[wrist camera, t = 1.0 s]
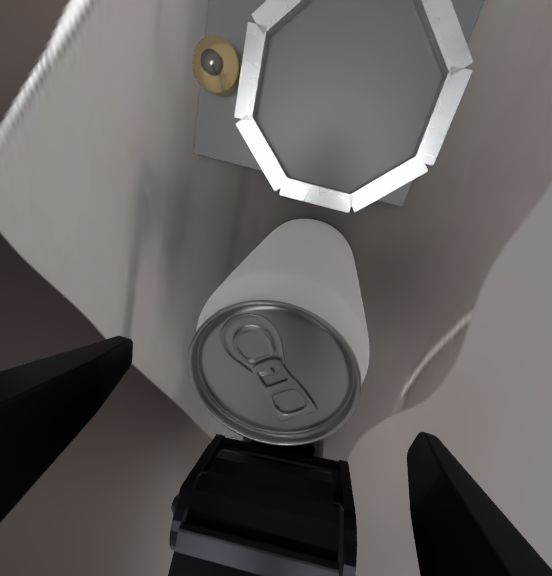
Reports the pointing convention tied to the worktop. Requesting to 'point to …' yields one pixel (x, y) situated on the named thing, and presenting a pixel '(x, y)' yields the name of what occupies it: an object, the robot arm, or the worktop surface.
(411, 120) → the carrier plate
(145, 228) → the worktop surface
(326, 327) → the can
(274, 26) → the socket
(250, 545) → the robot arm
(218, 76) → the brass round knob
